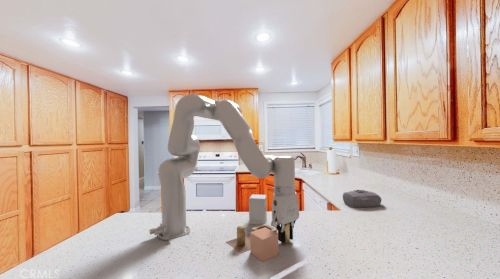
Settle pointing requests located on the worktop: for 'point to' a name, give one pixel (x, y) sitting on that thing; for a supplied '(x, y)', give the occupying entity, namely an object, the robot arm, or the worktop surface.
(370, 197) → the small grey backpack
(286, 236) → the peg
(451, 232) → the worktop surface
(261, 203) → the supplement box
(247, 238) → the board
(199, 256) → the worktop surface
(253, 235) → the salmon pink cube
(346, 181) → the worktop surface
